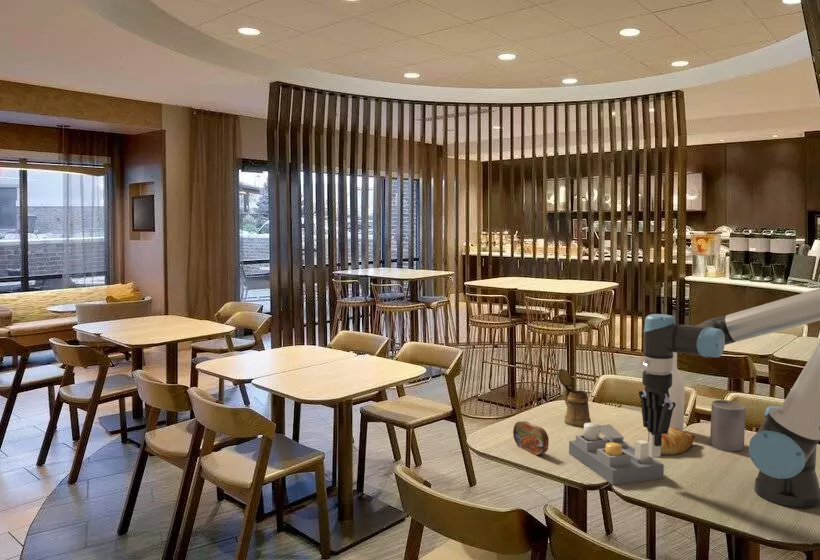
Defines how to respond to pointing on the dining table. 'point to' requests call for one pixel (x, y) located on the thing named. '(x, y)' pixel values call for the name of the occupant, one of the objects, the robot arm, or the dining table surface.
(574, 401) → the wooden mug
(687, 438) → the croissant
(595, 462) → the panel
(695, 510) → the dining table surface
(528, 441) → the tin
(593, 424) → the white button
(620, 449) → the amber button
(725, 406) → the pillar candle
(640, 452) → the slider knob
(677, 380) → the bottle
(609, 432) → the plate
